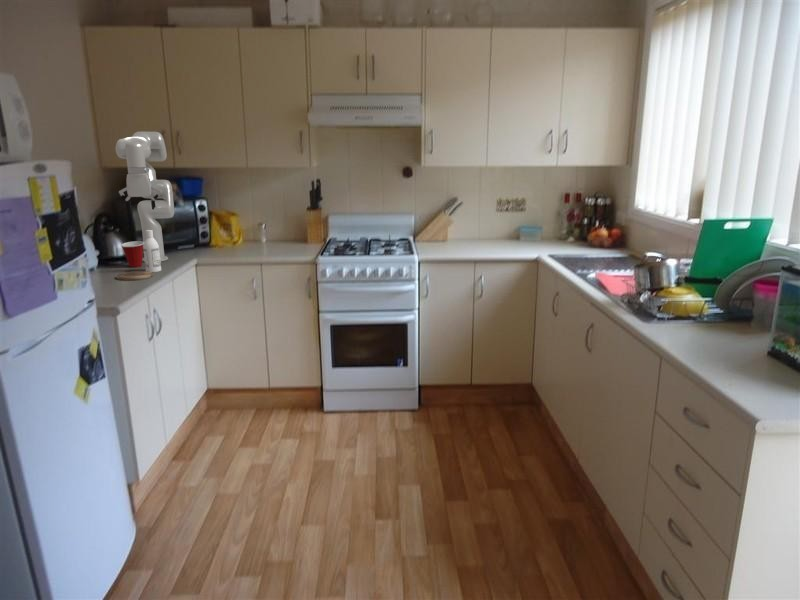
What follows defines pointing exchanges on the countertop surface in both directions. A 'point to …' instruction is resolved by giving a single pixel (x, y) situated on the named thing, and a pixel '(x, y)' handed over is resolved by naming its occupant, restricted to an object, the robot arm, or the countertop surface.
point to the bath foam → (151, 253)
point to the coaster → (134, 275)
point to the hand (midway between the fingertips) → (141, 209)
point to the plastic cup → (133, 253)
